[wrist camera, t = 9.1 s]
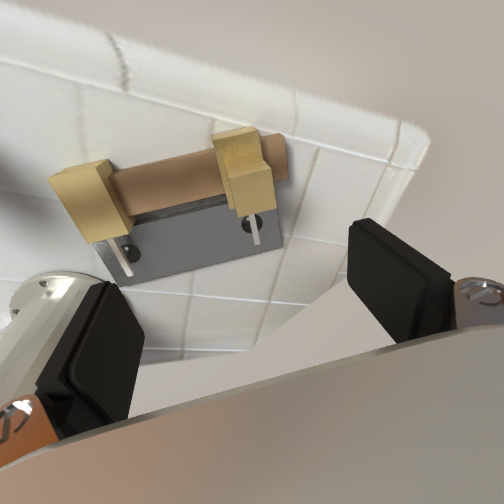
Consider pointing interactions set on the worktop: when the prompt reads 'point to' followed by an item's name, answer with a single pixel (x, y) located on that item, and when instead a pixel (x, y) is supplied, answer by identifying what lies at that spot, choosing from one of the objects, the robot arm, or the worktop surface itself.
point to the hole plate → (188, 242)
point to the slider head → (245, 174)
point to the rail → (145, 190)
